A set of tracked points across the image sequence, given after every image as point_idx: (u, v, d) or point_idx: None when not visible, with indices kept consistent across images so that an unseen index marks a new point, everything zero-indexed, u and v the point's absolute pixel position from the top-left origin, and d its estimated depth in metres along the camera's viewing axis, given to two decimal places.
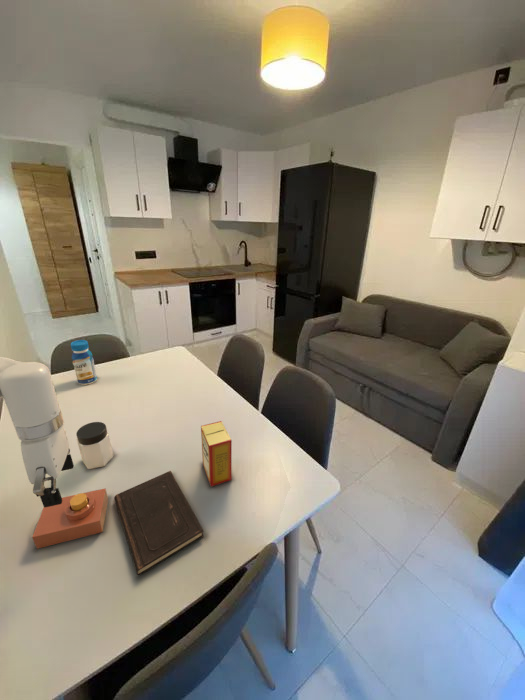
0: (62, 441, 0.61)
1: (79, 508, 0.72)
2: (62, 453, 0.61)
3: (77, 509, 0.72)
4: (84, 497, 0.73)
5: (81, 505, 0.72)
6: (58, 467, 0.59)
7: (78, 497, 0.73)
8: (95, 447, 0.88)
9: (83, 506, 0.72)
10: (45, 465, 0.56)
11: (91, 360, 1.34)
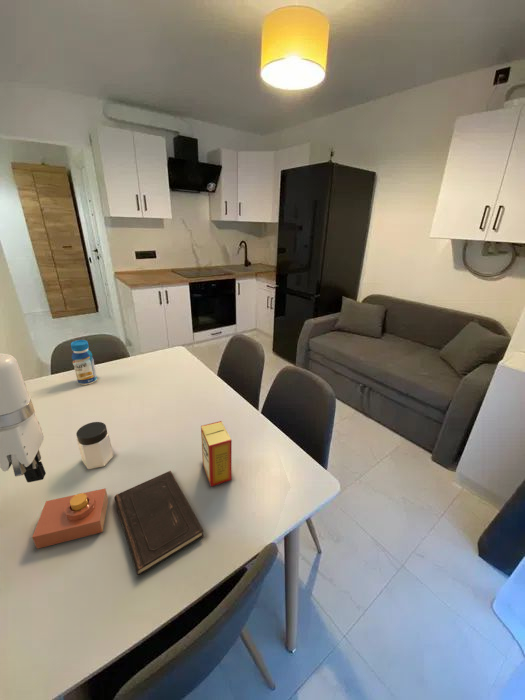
0: (34, 430, 0.63)
1: (79, 508, 0.72)
2: (34, 442, 0.63)
3: (77, 509, 0.72)
4: (84, 497, 0.73)
5: (81, 505, 0.72)
6: (30, 455, 0.61)
7: (78, 497, 0.73)
8: (95, 447, 0.88)
9: (83, 506, 0.72)
10: (15, 453, 0.58)
11: (91, 360, 1.34)
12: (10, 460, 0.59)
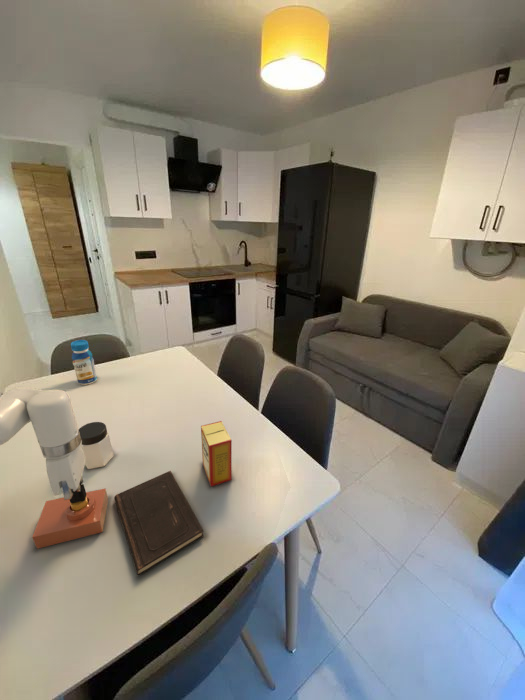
0: (80, 457, 0.69)
1: (79, 508, 0.72)
2: (80, 467, 0.69)
3: (77, 509, 0.72)
4: None
5: (81, 505, 0.72)
6: (77, 480, 0.67)
7: None
8: (95, 447, 0.88)
9: (83, 507, 0.72)
10: (66, 479, 0.64)
11: (91, 360, 1.34)
12: (61, 485, 0.65)
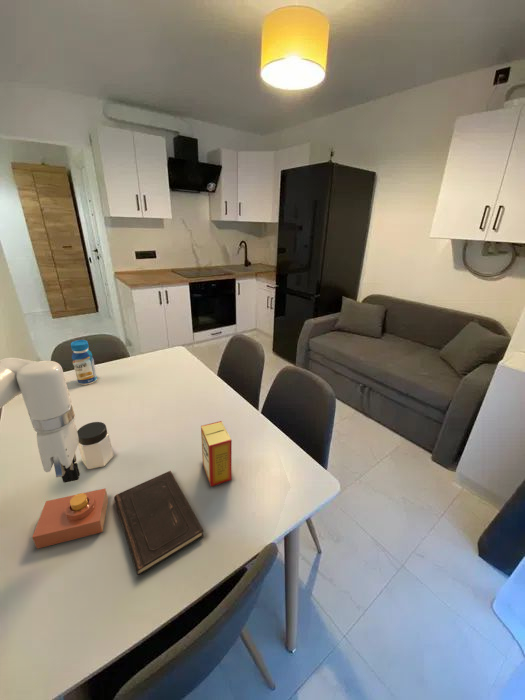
0: (73, 433, 0.66)
1: (79, 508, 0.72)
2: (73, 444, 0.66)
3: (77, 509, 0.72)
4: (84, 497, 0.73)
5: (81, 505, 0.72)
6: (70, 457, 0.64)
7: (78, 497, 0.73)
8: (95, 447, 0.88)
9: (83, 506, 0.72)
10: (58, 455, 0.61)
11: (91, 360, 1.34)
12: (52, 462, 0.62)
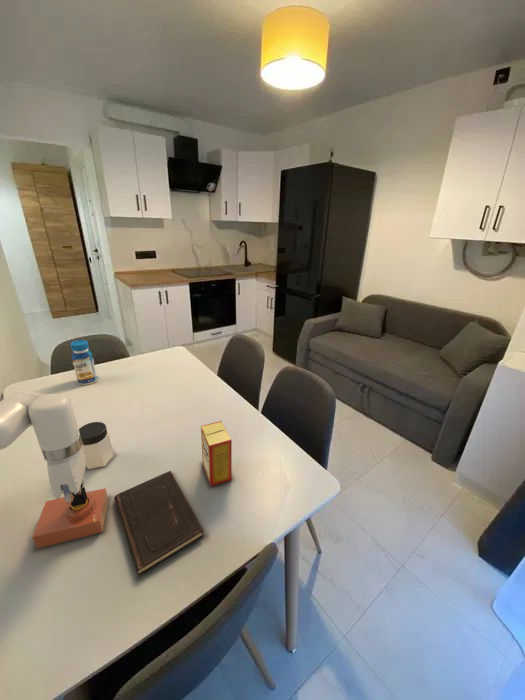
0: (81, 460, 0.70)
1: None
2: (81, 471, 0.69)
3: None
4: None
5: (82, 508, 0.72)
6: (78, 483, 0.67)
7: None
8: (95, 447, 0.88)
9: None
10: (67, 482, 0.64)
11: (91, 360, 1.34)
12: (62, 489, 0.65)
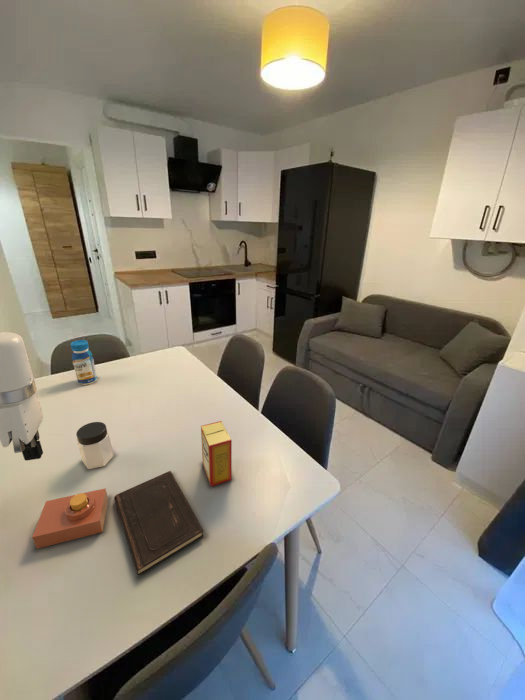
0: (35, 410, 0.65)
1: (79, 508, 0.72)
2: (35, 421, 0.64)
3: (77, 509, 0.72)
4: (84, 497, 0.73)
5: (81, 505, 0.72)
6: (30, 433, 0.62)
7: (78, 497, 0.73)
8: (95, 447, 0.88)
9: (83, 506, 0.72)
10: (17, 429, 0.60)
11: (91, 360, 1.34)
12: (11, 436, 0.60)
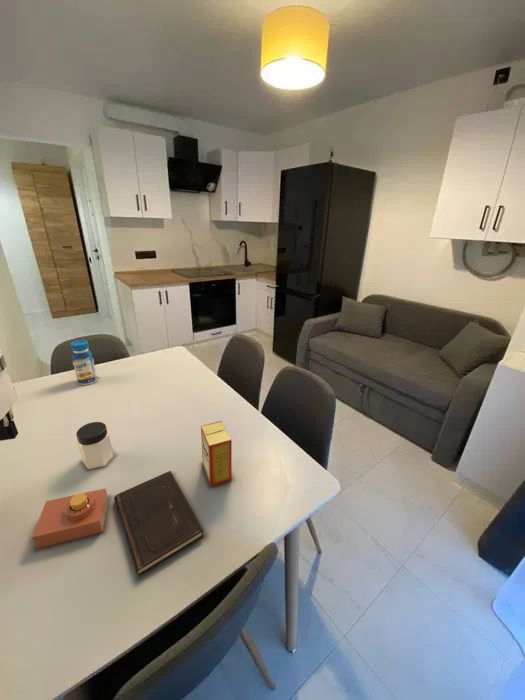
0: (6, 388, 0.64)
1: (79, 508, 0.72)
2: (6, 399, 0.63)
3: (77, 509, 0.72)
4: (84, 497, 0.73)
5: (81, 505, 0.72)
6: (0, 410, 0.61)
7: (78, 497, 0.73)
8: (95, 447, 0.88)
9: (83, 506, 0.72)
10: None
11: (91, 360, 1.34)
12: None
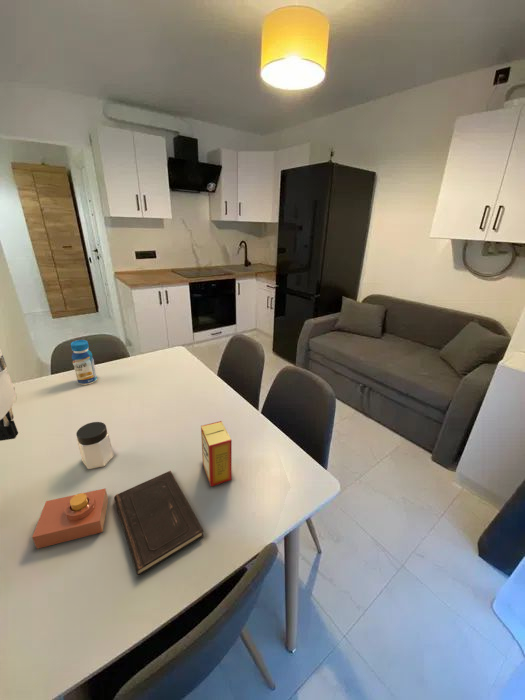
0: (6, 388, 0.64)
1: (79, 508, 0.72)
2: (6, 399, 0.63)
3: (77, 509, 0.72)
4: (84, 497, 0.73)
5: (81, 505, 0.72)
6: (0, 410, 0.61)
7: (78, 497, 0.73)
8: (95, 447, 0.88)
9: (83, 506, 0.72)
10: None
11: (91, 360, 1.34)
12: None
